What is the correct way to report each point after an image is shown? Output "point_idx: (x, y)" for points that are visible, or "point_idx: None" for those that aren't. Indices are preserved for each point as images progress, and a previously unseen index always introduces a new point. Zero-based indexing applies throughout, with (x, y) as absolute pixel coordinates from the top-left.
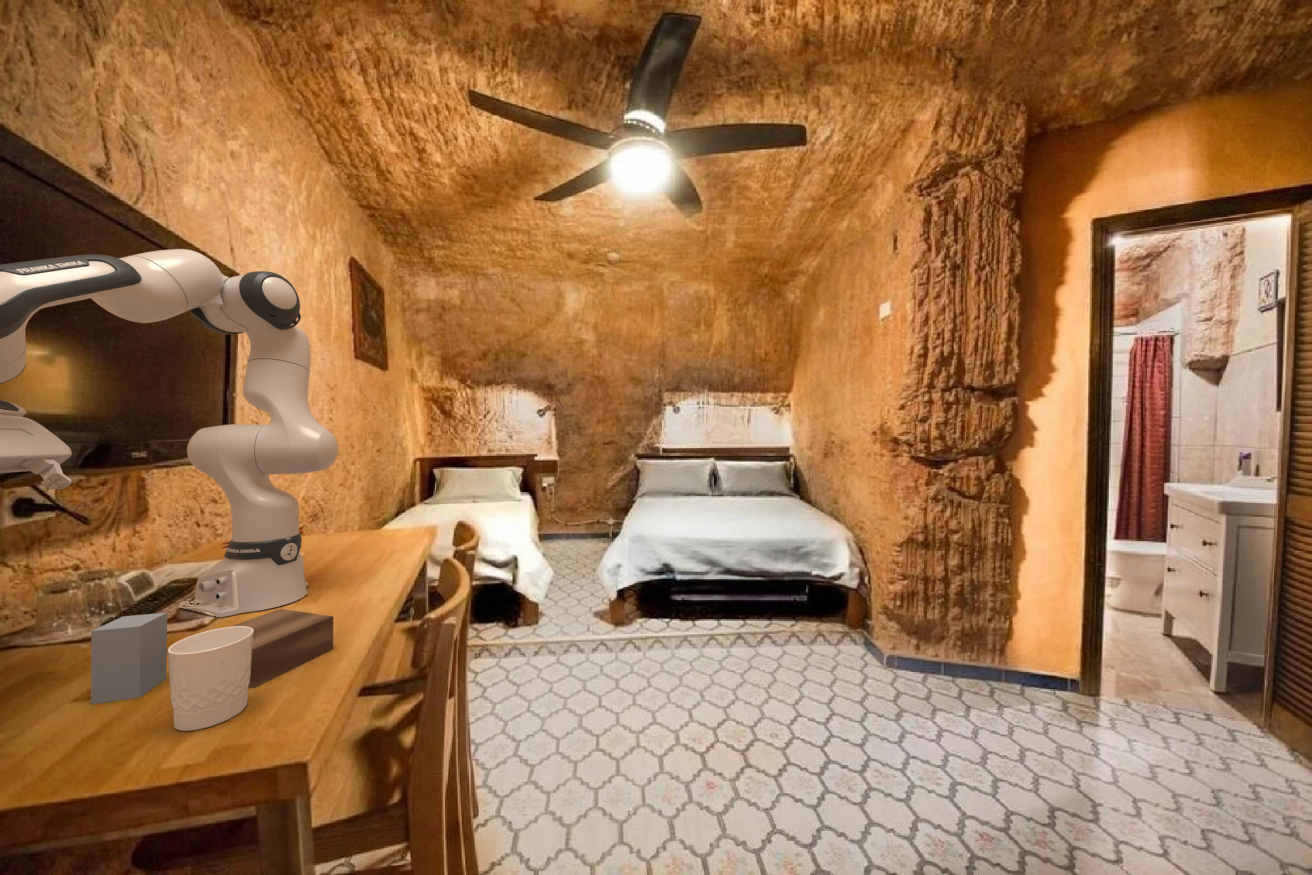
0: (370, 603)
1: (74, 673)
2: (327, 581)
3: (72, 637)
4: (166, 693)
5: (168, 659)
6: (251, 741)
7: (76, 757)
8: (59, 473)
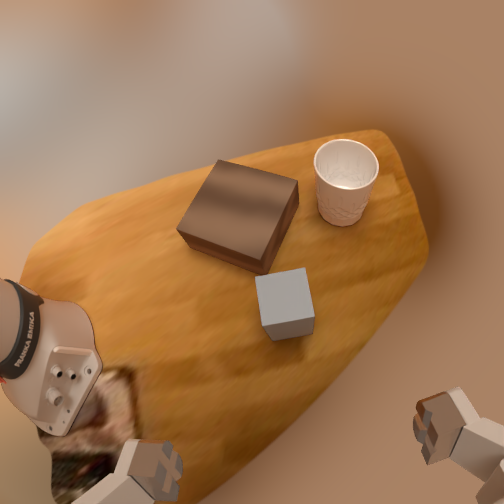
0: (107, 213)
1: (234, 419)
2: None
3: None
4: None
5: (371, 186)
6: None
7: (392, 260)
8: (124, 474)
